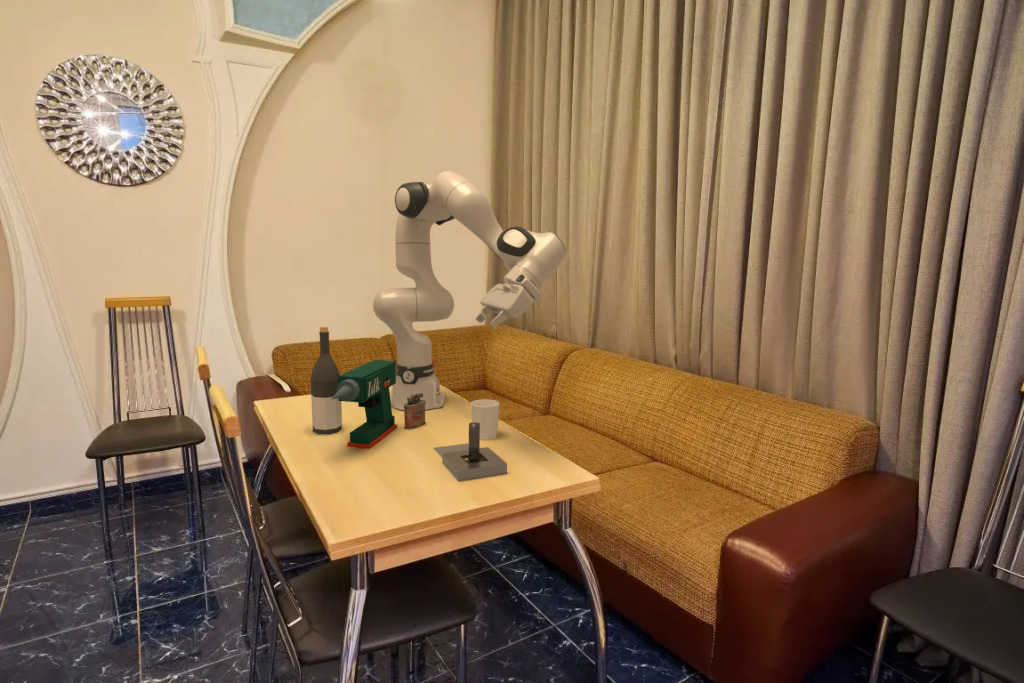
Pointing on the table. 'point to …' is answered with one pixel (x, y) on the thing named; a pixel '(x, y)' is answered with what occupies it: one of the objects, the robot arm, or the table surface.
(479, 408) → the white cup
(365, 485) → the table surface
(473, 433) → the dark grey peg
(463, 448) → the grey square plate
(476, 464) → the grey square frame
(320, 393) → the wine bottle
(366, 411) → the power tool
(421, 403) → the lighter
